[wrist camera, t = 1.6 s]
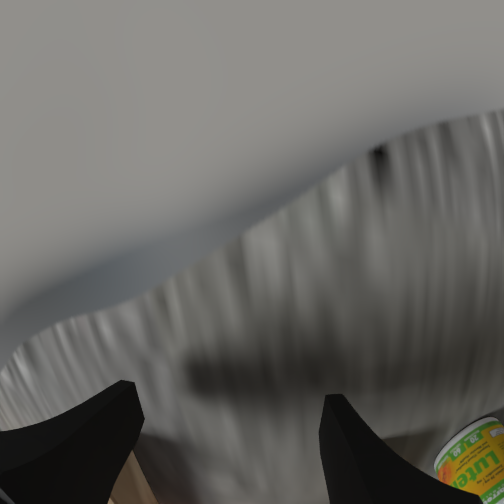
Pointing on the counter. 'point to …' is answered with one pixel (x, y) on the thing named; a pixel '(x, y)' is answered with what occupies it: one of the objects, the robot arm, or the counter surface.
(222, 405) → the counter surface
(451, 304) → the counter surface
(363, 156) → the counter surface
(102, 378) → the counter surface
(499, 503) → the supplement bottle
